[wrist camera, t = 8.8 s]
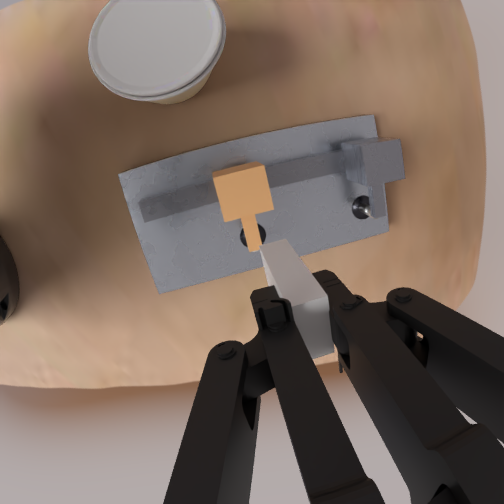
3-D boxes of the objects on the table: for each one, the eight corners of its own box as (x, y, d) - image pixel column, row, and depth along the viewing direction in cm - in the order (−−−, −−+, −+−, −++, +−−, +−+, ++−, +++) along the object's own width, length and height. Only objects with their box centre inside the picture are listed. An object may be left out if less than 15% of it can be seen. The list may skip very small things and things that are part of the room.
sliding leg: (232, 247, 32) (237, 270, 27) (211, 170, 29) (212, 178, 24) (271, 237, 32) (284, 257, 27) (253, 159, 29) (264, 165, 24)
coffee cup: (238, 66, 28) (257, 30, 17) (170, 131, 29) (149, 129, 18) (174, 10, 25) (161, -46, 14) (107, 74, 26) (59, 47, 15)
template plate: (161, 285, 35) (151, 324, 28) (123, 172, 30) (98, 183, 23) (380, 226, 36) (418, 249, 29) (365, 115, 31) (405, 113, 24)
